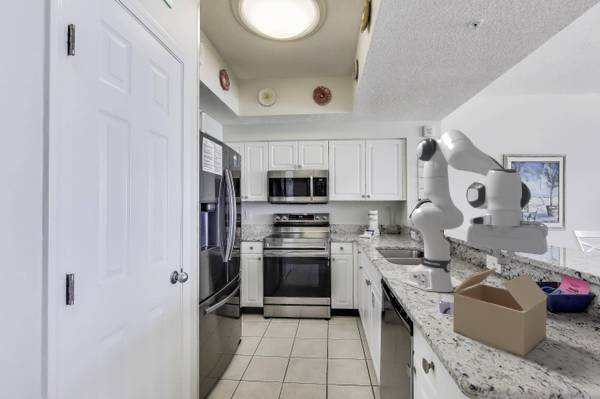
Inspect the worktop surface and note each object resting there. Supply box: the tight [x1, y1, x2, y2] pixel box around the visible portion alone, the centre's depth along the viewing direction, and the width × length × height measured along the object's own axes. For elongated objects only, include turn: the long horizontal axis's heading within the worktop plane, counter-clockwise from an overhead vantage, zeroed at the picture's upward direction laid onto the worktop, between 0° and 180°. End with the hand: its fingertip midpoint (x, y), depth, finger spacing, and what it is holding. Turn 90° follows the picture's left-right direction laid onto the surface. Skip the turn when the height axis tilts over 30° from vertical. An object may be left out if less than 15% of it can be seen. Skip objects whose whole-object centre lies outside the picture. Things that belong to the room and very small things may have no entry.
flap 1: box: [452, 267, 498, 293], centre depth 91 cm, size 8×19×1 cm
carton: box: [453, 283, 547, 359], centre depth 86 cm, size 18×20×12 cm
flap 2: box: [502, 272, 548, 311], centre depth 81 cm, size 8×19×1 cm
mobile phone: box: [437, 300, 454, 318], centre depth 106 cm, size 8×1×15 cm
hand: (503, 264), depth 85 cm, fingers closed
